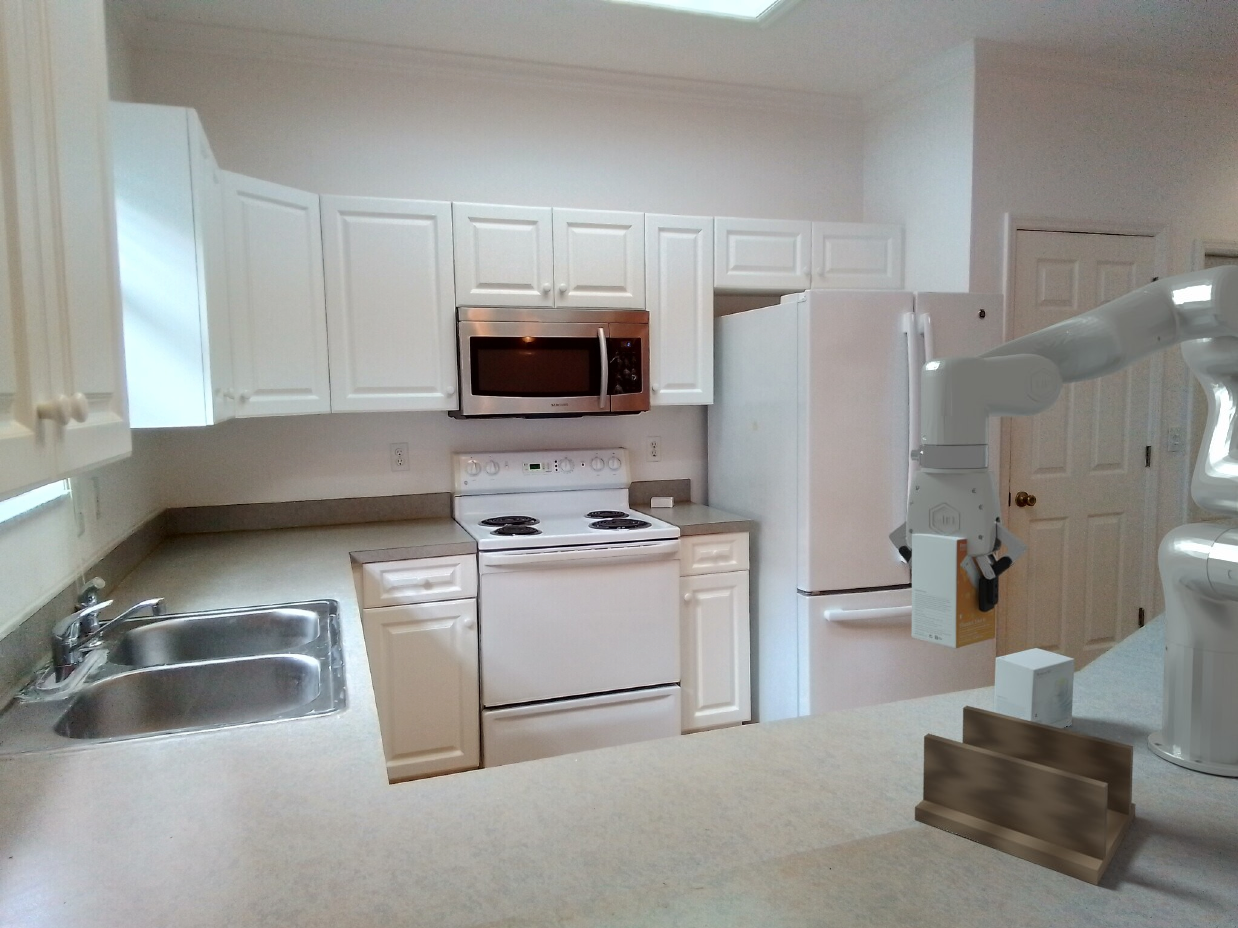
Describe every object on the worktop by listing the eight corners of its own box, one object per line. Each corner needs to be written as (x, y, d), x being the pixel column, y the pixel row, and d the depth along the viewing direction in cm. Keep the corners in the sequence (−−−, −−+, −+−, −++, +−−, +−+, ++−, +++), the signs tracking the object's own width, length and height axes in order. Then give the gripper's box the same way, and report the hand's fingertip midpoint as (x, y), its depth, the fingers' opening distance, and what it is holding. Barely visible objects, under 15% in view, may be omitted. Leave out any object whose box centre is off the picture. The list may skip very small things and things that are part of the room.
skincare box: (1033, 741, 108) (1035, 668, 107) (991, 725, 114) (992, 656, 113) (1074, 726, 113) (1076, 656, 113) (1032, 712, 119) (1034, 646, 118)
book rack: (914, 819, 87) (915, 742, 86) (971, 768, 99) (973, 700, 99) (1096, 885, 74) (1099, 795, 74) (1135, 816, 87) (1137, 739, 86)
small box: (956, 650, 88) (956, 539, 87) (910, 637, 93) (910, 533, 93) (997, 638, 92) (998, 532, 92) (950, 627, 98) (950, 527, 97)
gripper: (872, 459, 95) (872, 599, 96) (1020, 462, 83) (1019, 623, 84) (899, 457, 101) (899, 589, 101) (1043, 459, 88) (1041, 610, 89)
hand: (953, 603), depth 93 cm, fingers closed on small box, 7 cm apart
